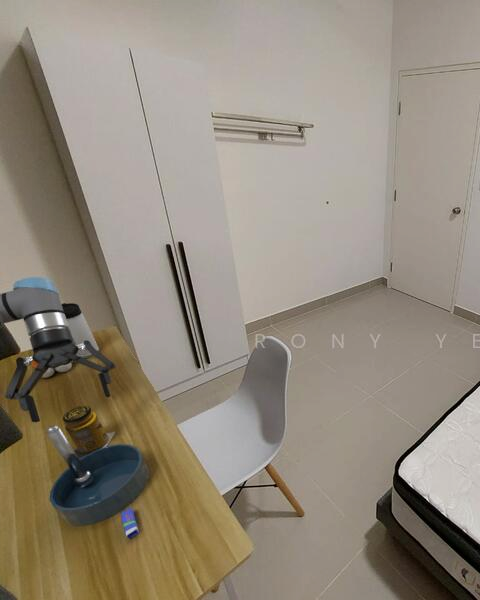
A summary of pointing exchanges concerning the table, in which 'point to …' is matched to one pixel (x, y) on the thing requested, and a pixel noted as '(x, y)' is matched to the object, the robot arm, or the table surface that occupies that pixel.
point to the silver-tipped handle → (70, 457)
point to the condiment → (85, 431)
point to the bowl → (101, 485)
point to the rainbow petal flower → (51, 371)
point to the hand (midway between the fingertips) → (74, 408)
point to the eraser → (129, 523)
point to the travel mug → (79, 328)
